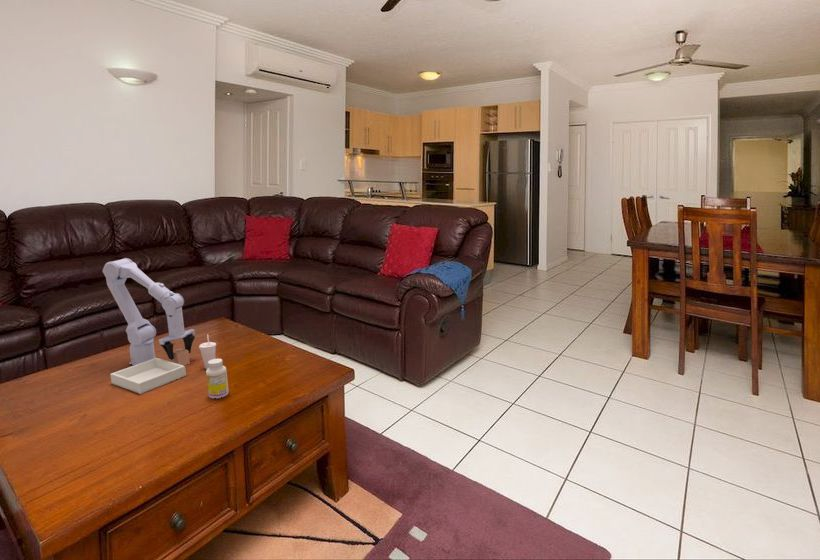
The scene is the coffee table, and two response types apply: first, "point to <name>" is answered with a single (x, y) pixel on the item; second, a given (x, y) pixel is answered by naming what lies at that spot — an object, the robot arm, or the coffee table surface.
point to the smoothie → (207, 351)
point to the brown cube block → (181, 357)
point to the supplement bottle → (216, 379)
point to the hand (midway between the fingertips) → (179, 355)
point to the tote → (148, 375)
